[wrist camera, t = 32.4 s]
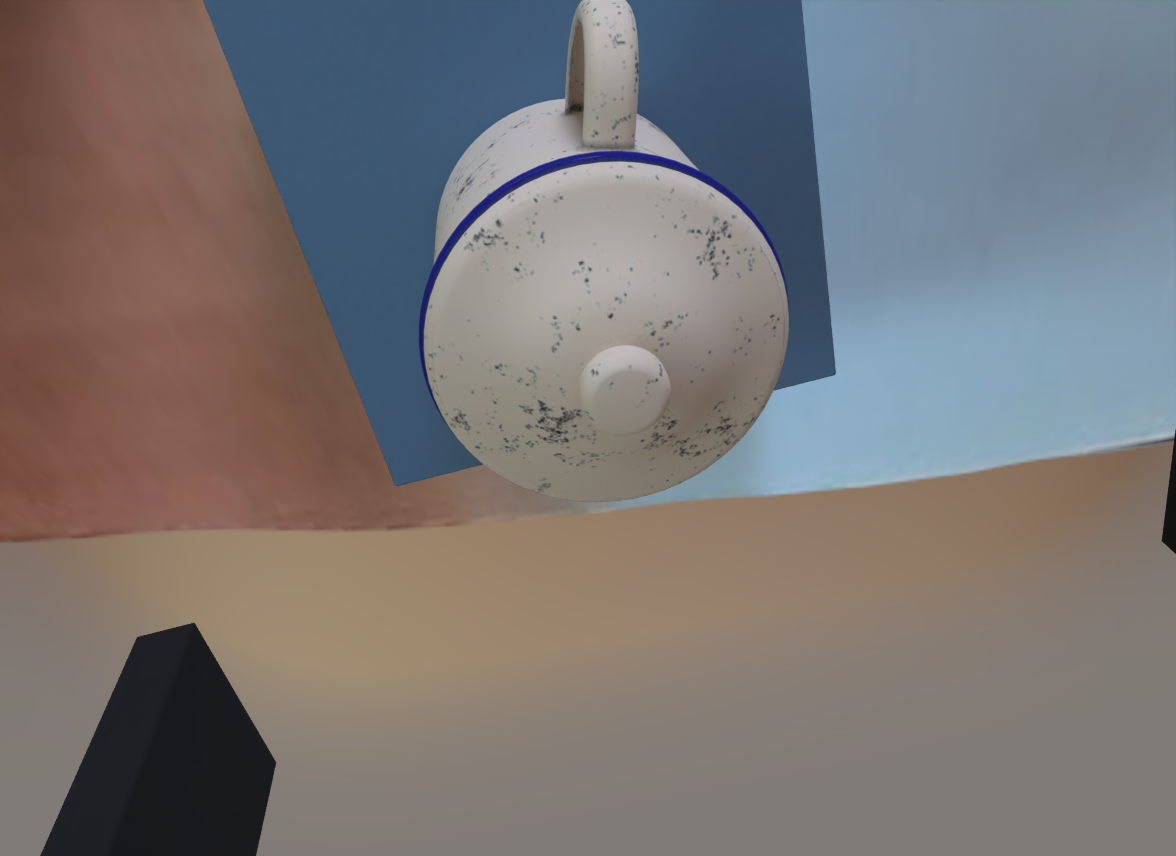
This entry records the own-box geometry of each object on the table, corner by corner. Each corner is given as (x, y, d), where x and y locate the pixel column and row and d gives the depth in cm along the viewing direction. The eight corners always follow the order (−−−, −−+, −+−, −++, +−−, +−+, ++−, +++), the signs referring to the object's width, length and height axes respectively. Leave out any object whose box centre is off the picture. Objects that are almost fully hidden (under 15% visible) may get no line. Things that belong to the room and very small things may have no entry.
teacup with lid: (694, 361, 33) (799, 563, 23) (434, 364, 32) (422, 578, 22) (736, -15, 27) (901, 33, 17) (418, -28, 26) (391, 15, 16)
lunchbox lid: (829, 365, 34) (836, 375, 34) (396, 475, 35) (395, 487, 34) (776, -181, 26) (785, -183, 25) (197, -33, 26) (190, -31, 25)
